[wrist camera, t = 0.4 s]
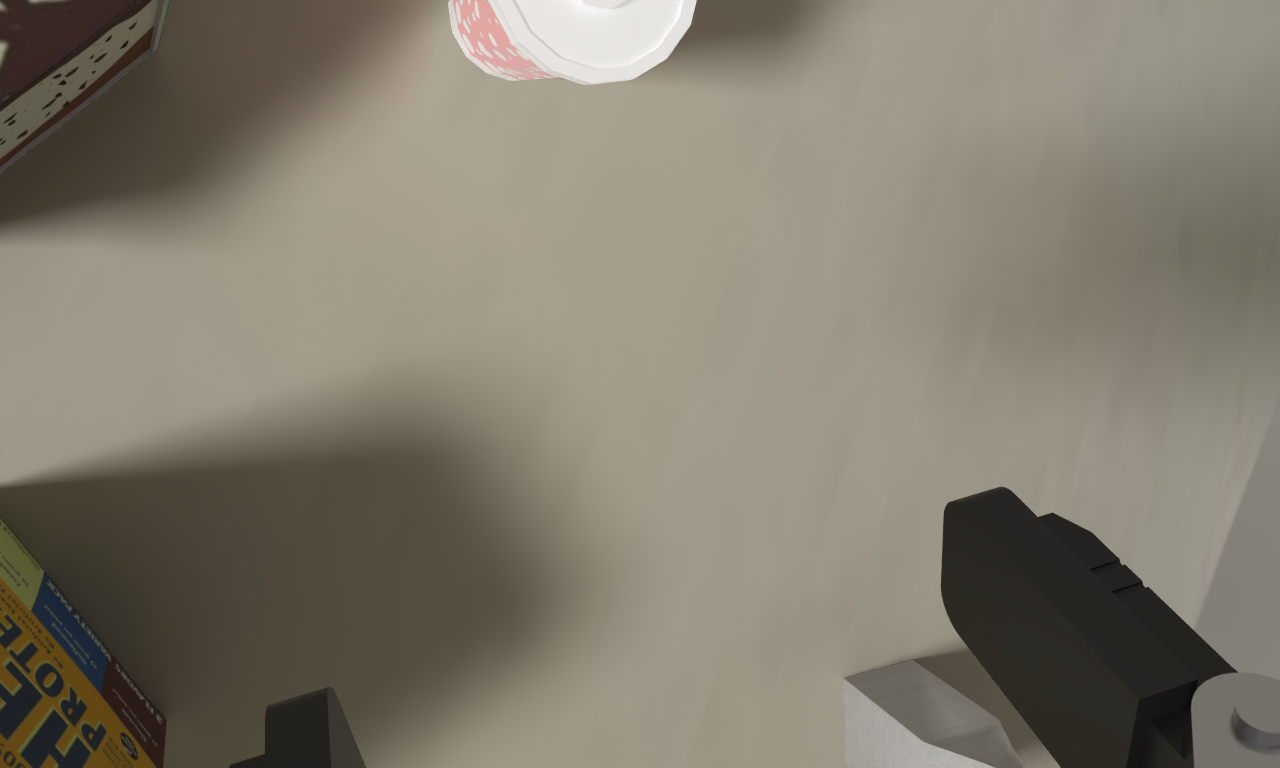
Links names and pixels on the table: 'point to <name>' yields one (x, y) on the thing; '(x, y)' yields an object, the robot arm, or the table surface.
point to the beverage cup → (569, 36)
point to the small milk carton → (918, 723)
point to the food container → (65, 60)
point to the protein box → (63, 681)
